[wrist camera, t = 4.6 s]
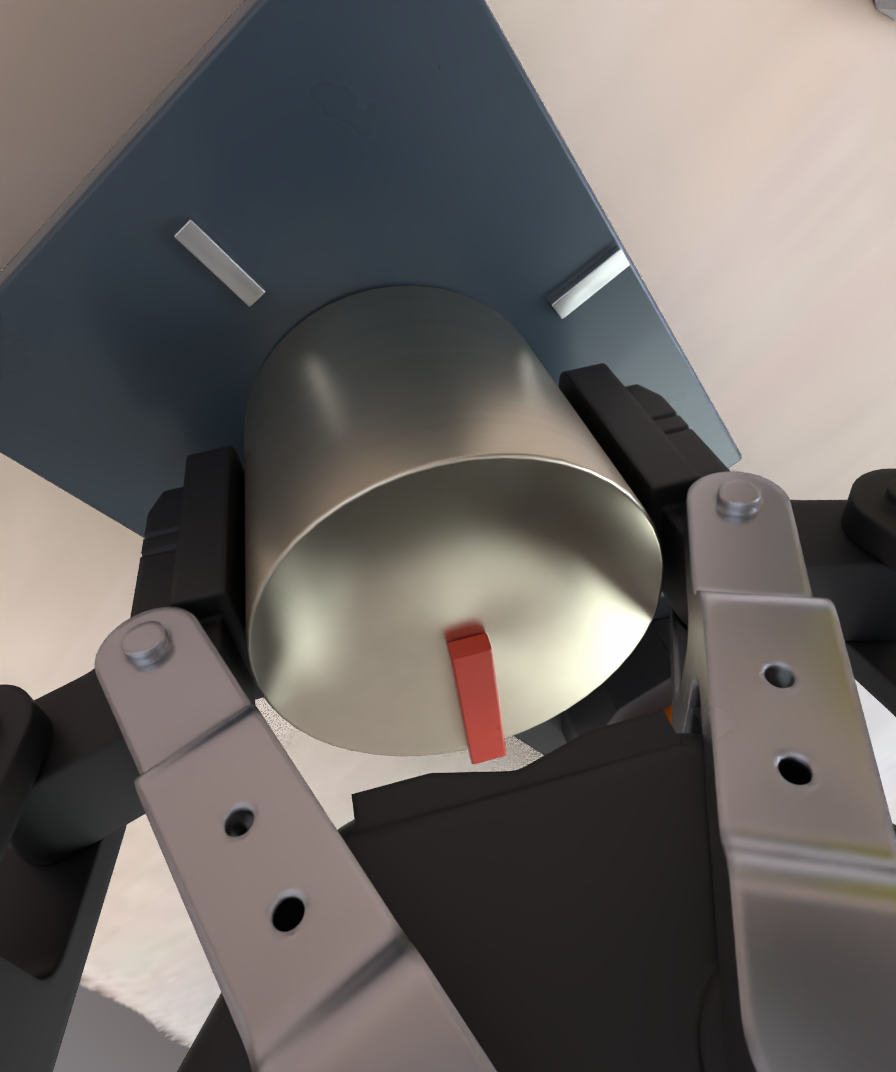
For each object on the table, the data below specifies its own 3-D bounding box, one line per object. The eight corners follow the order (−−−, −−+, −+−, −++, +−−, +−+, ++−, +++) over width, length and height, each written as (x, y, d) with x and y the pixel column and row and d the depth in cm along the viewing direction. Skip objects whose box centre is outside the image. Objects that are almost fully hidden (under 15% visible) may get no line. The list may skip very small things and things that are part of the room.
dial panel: (-50, 327, 12) (-104, 401, 10) (369, -138, 10) (401, -158, 8) (386, 623, 20) (402, 698, 18) (690, 403, 17) (748, 462, 15)
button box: (442, 642, 21) (475, 759, 18) (702, 462, 19) (789, 561, 16) (595, 750, 27) (639, 850, 24) (805, 625, 25) (882, 718, 22)
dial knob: (195, 326, 11) (168, 545, 7) (539, 251, 11) (699, 417, 7) (293, 576, 15) (313, 811, 11) (549, 513, 15) (659, 716, 11)
